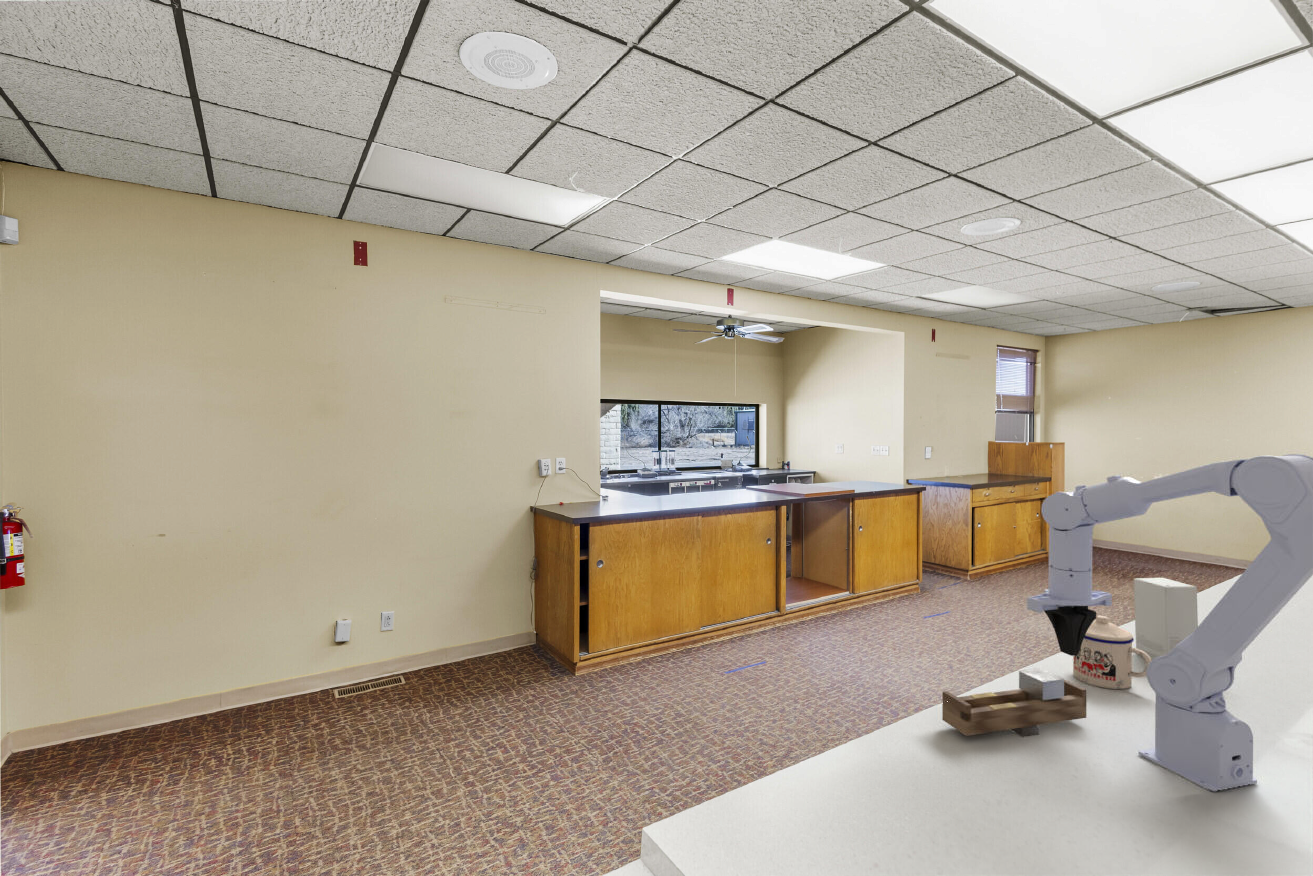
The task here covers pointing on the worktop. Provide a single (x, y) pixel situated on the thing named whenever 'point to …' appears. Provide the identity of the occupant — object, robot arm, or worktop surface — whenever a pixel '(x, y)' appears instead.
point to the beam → (1011, 710)
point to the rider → (1041, 684)
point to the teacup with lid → (1107, 656)
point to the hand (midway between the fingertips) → (1069, 653)
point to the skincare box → (1163, 614)
